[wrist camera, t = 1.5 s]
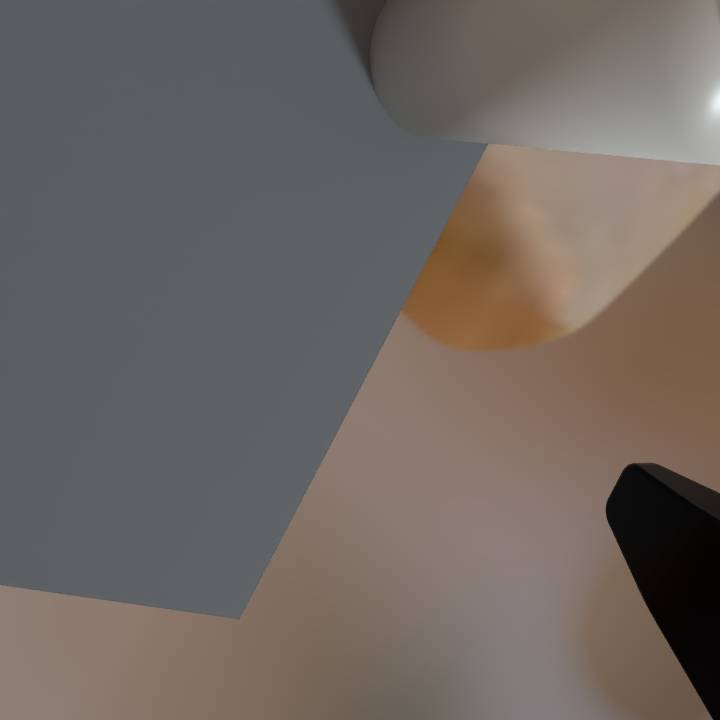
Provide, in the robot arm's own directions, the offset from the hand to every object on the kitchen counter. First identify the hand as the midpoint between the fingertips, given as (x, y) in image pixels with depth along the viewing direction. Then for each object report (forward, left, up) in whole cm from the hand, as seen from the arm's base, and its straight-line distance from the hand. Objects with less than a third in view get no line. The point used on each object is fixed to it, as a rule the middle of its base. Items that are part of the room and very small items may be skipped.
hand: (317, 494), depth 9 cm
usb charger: (+10, -4, -11) cm, 15 cm away
